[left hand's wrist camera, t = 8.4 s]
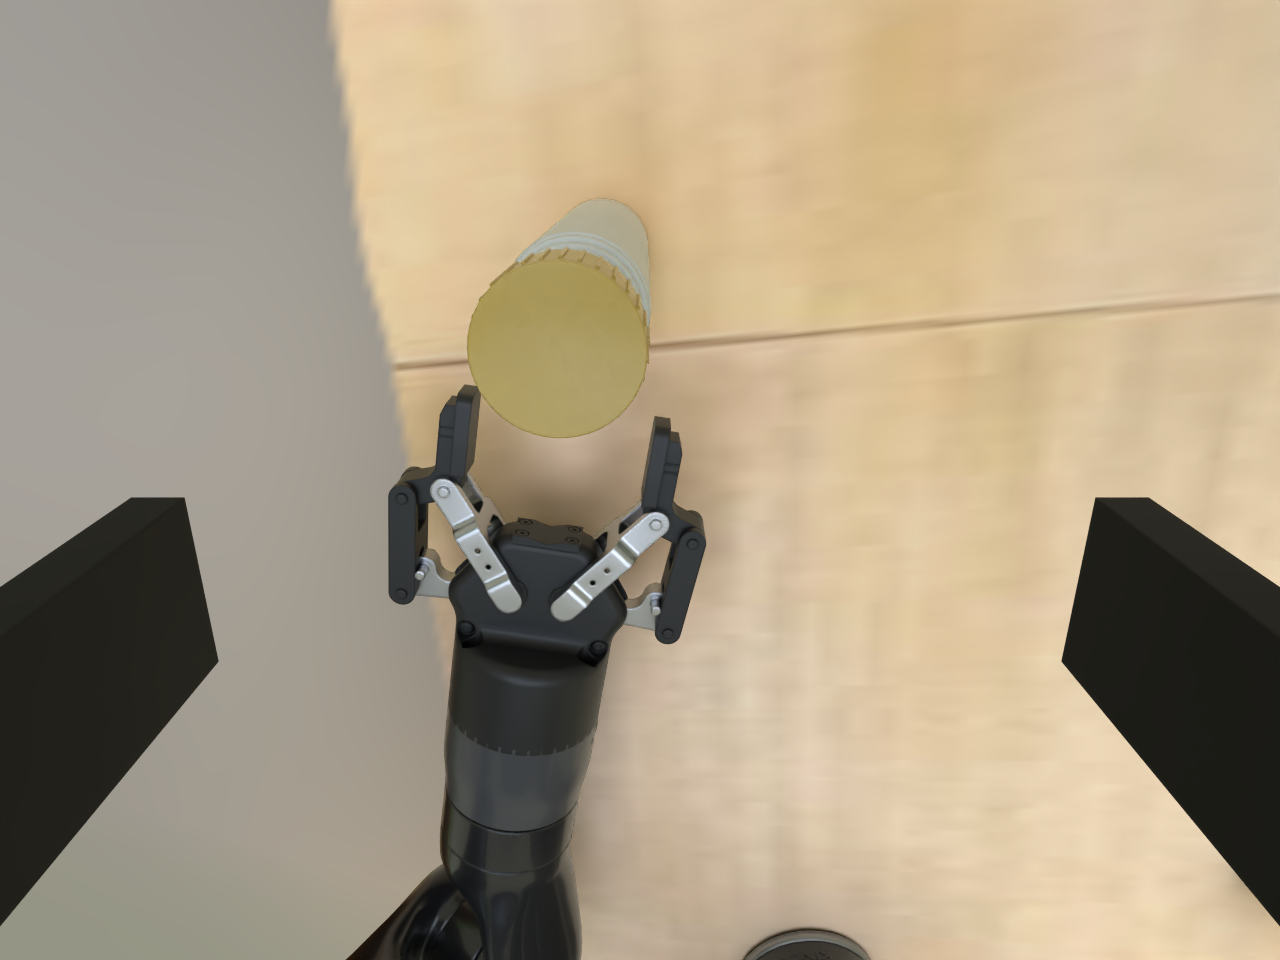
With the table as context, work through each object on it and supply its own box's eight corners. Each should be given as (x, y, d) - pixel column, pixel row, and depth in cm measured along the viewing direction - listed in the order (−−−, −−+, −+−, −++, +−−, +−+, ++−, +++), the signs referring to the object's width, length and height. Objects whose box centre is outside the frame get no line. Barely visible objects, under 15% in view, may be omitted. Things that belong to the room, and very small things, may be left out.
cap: (450, 295, 21) (429, 312, 19) (600, 215, 21) (595, 223, 19) (534, 438, 23) (522, 469, 21) (677, 367, 22) (681, 391, 20)
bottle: (540, 225, 41) (428, 308, 20) (621, 181, 40) (597, 217, 19) (584, 307, 42) (524, 467, 21) (663, 266, 41) (684, 388, 20)
